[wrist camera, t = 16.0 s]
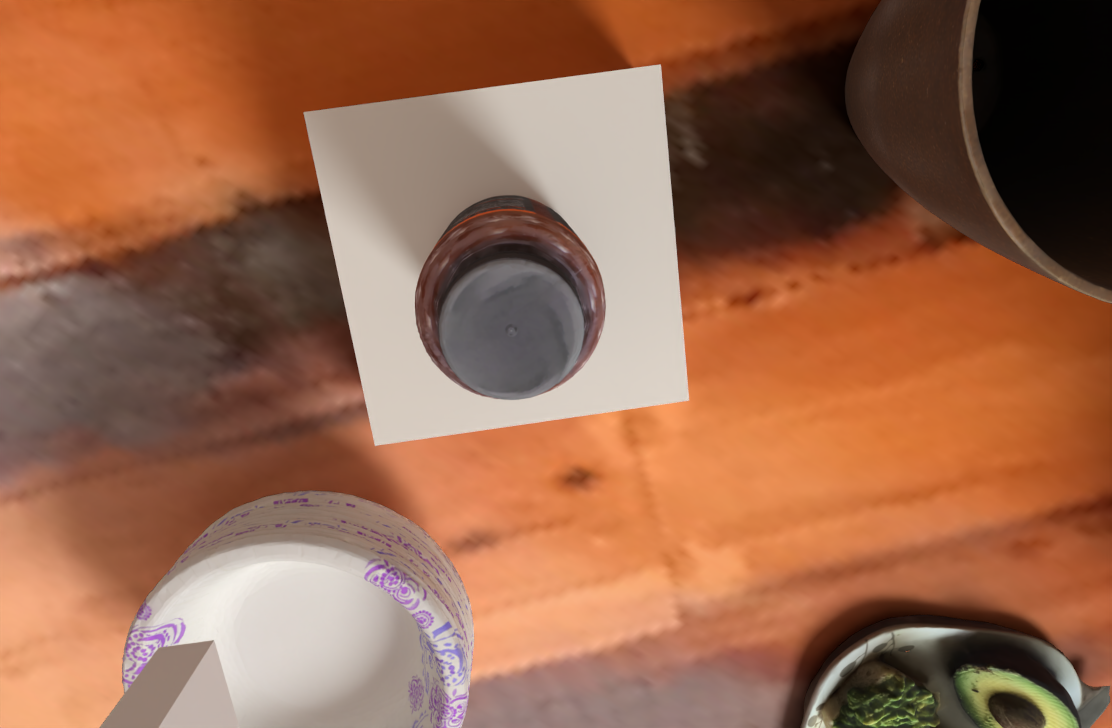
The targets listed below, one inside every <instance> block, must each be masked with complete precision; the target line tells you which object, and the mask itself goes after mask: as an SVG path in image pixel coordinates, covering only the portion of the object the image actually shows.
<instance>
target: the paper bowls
mask: <svg viewBox="0 0 1112 728" xmlns="http://www.w3.org/2000/svg"><path fill="white" fill-rule="evenodd" d="M211 640H214V641H215V645H216V648H217V652H218V655H219V659H220V662H221V665H222V669H223V672H224V676H225V679H226V683H227V686H228V690H229V693H230V697H231V700H232V704H233V707H234V710H235V714H236V717H237V721H238V724H239V728H461V726H462V723H463V720H464V717H465V714H466V709H467V704H468V698H469V686H470V676H471V669H472V660H473V659H472V656H473V648H474V631H473V617H472V610H471V605H470V601H469V598H468V595H467V593H466V590H465V587H464V585H463V582H462V580H461V578H460V576H459V574H458V572H457V570H456V569H455V567H454V565H453V564H452V562H451V561H450V559H449V558H448V557H447V556H446V554H445V553H444V552H443V551H442V550H441V548H440V547H439V546H438V544H437V543H436V542H435V541H434V540H433V539H432V538H431V537H430V536H429V535H428V534H427V532H425V531H424V530H423V529H422V528H421V527H419V526H418V525H416V524H415V523H414V522H412V521H411V520H409V519H407V518H406V517H404V516H402V515H400V514H397V513H396V512H395V511H393V510H391V509H389V508H387V507H385V506H383V505H381V504H378V503H375V502H372V501H369V500H366V499H363V498H360V497H357V496H354V495H349V494H344V493H337V492H329V491H297V492H289V493H281V494H277V495H271V496H267V497H263V498H260V499H258V500H255V501H253V502H249V503H246V504H244V505H241V506H239V507H237V508H234V509H232V510H231V511H229V512H228V513H227V514H225V515H224V516H222V517H221V518H219V519H218V520H217V521H215V522H214V523H213V524H211V525H210V526H209V527H208V528H207V529H206V530H205V531H204V532H203V533H202V534H201V535H200V536H199V537H198V538H197V539H196V540H195V541H194V542H193V543H192V544H191V545H190V546H189V547H188V548H187V549H186V550H185V552H184V553H183V554H182V555H181V556H180V557H179V559H178V560H177V561H176V562H175V564H174V566H173V567H172V568H171V569H170V570H169V571H168V573H167V574H166V575H165V576H164V577H163V578H162V579H161V580H160V581H159V582H158V583H157V585H156V586H155V587H154V589H153V590H152V591H151V592H150V593H149V594H148V596H147V597H146V599H145V601H144V602H143V604H142V605H141V607H140V609H139V610H138V612H137V614H136V616H135V618H134V620H133V622H132V624H131V626H130V629H129V632H128V636H127V640H126V644H125V648H124V656H123V664H122V672H123V676H122V683H123V686H124V694H125V693H126V691H127V690H128V688H129V687H130V686H131V684H132V683H133V682H134V680H135V679H136V678H137V676H138V675H139V674H140V672H141V671H142V670H143V668H144V667H145V665H146V664H147V663H148V661H149V660H150V659H151V657H152V656H153V655H154V653H155V652H156V651H157V649H158V648H159V647H167V646H174V645H182V644H189V643H196V642H204V641H211Z"/></svg>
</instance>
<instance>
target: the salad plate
mask: <svg viewBox="0 0 1112 728" xmlns="http://www.w3.org/2000/svg"><path fill="white" fill-rule="evenodd" d="M909 650H910V651H909ZM905 651H908V652H905ZM1109 690H1110V686H1102V687H1092V686H1088V685H1086V684H1085V683H1083V682H1082V681H1081V680H1080V678H1079V677H1078V675H1077V673H1076V671H1075V669H1074V667H1073V666H1072V664H1071V662H1070V661H1069V660H1068V658H1067V657H1065V655H1064V654H1063V653H1062V652H1061V651H1060V650H1058V649H1056V647H1055V646H1054V645H1052V644H1051V643H1049V642H1047V641H1045V640H1043V639H1040V638H1037V637H1035V636H1032V635H1029V634H1026V633H1023V632H1019V631H1016V630H1013V629H1010V628H1005V627H1001V626H998V625H995V624H991V623H987V622H979V621H970V620H962V619H956V618H949V617H942V616H933V615H911V616H904V617H895V618H890V619H886V620H883V621H880V622H878V623H875V624H873V625H870V626H868V627H866V628H864V629H862V630H860V631H858V632H857V633H855V634H854V635H852V636H851V637H849V638H848V639H847V640H846V641H845V642H843V643H842V644H841V645H840V646H839V647H838V648H837V649H835V650H834V651H833V652H832V653H831V655H830V656H829V657H828V658H827V659H826V661H825V662H824V663H823V665H822V667H821V668H820V670H819V672H818V673H817V675H816V676H815V678H814V679H813V680H812V682H811V684H810V686H809V688H808V691H807V693H806V696H805V701H804V717H803V720H802V724H801V728H825V727H826V728H1090V727H1091V726H1092V725H1093V724H1094V722H1095V721H1096V720H1097V719H1098V718H1099V716H1100V715H1101V714H1102V713H1103V712H1104V710H1105V709H1106V707H1107V706H1108V704H1109V703H1110V696H1109Z"/></svg>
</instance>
